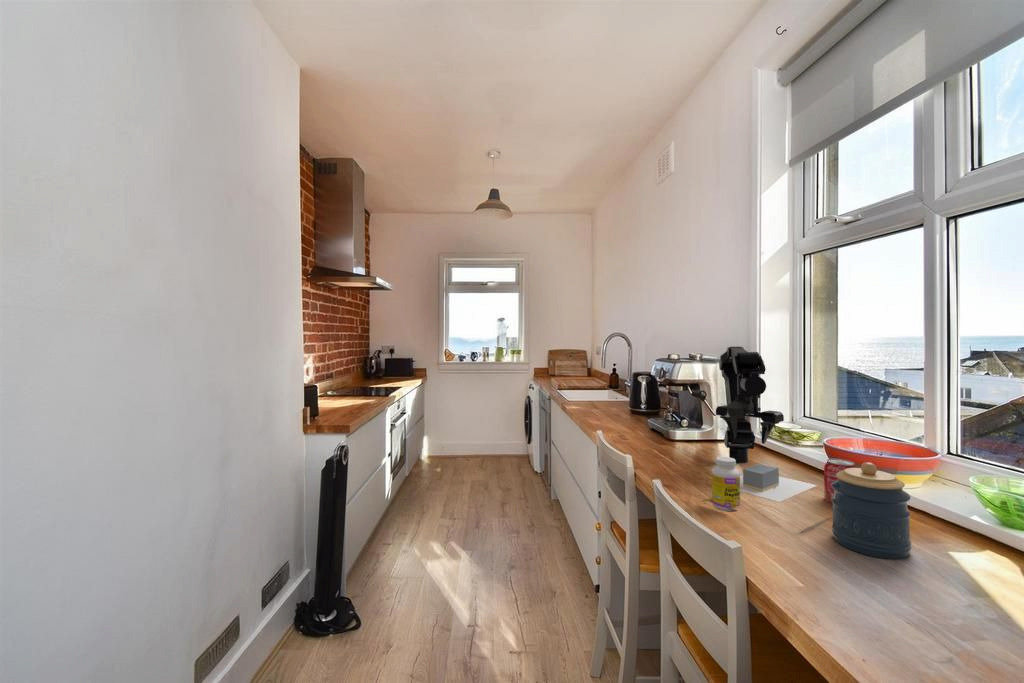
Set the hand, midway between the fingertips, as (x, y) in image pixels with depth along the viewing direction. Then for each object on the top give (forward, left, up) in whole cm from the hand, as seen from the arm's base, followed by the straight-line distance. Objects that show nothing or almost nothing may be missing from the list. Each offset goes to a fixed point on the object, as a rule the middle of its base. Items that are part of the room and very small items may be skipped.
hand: (748, 440), depth 136 cm
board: (+6, +8, -12) cm, 16 cm away
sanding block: (+8, +8, -10) cm, 16 cm away
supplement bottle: (+28, +9, -12) cm, 32 cm away
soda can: (+4, +26, -12) cm, 29 cm away
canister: (+23, +38, -12) cm, 46 cm away
